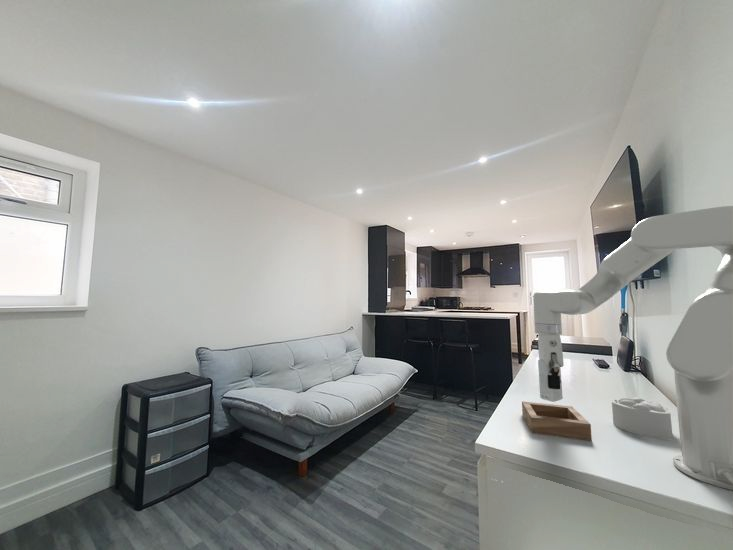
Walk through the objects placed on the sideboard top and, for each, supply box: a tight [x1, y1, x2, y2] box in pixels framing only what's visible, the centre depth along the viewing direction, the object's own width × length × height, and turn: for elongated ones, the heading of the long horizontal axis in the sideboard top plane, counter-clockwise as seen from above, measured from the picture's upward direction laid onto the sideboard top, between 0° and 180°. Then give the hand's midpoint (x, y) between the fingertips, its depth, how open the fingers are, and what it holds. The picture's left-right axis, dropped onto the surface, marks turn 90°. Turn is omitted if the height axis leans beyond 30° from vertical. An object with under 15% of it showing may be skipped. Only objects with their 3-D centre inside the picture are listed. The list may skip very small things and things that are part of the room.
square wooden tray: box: [521, 401, 593, 441], centre depth 91 cm, size 15×15×4 cm
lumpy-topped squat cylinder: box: [611, 397, 674, 441], centre depth 89 cm, size 10×13×9 cm
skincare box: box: [537, 359, 564, 403], centre depth 92 cm, size 6×4×12 cm
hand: (550, 384), depth 92 cm, fingers closed on skincare box, 7 cm apart
